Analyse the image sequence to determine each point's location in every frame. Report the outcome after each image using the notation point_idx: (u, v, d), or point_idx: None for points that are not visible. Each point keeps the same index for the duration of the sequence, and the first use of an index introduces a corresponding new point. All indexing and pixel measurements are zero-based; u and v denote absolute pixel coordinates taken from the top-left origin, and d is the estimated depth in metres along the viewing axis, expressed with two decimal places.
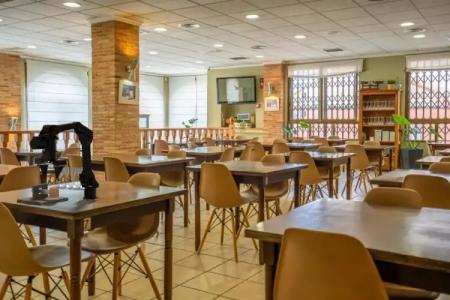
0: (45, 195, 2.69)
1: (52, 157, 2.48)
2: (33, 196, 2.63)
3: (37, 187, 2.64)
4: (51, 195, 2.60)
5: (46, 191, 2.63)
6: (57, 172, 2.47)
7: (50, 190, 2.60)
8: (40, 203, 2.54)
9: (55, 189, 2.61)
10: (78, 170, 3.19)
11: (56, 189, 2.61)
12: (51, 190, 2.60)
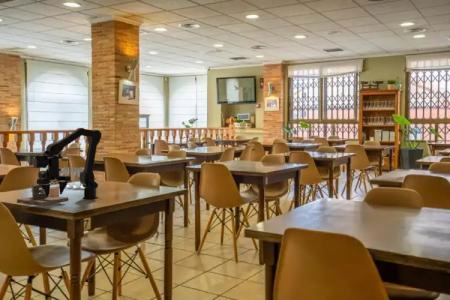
0: (45, 195, 2.69)
1: (48, 175, 2.59)
2: (33, 196, 2.63)
3: (37, 187, 2.64)
4: (51, 195, 2.60)
5: None
6: (45, 190, 2.57)
7: (50, 190, 2.60)
8: (40, 203, 2.54)
9: (55, 189, 2.61)
10: (78, 170, 3.19)
11: (56, 189, 2.61)
12: (51, 190, 2.60)
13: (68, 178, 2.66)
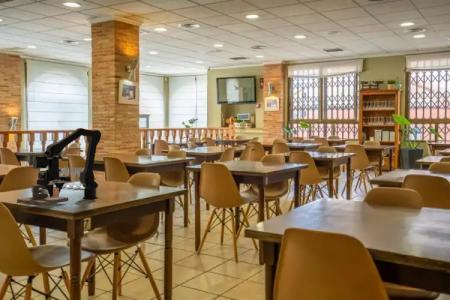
0: (45, 195, 2.69)
1: (48, 176, 2.59)
2: (33, 196, 2.63)
3: (37, 187, 2.64)
4: None
5: (46, 191, 2.63)
6: (48, 190, 2.59)
7: None
8: (40, 203, 2.54)
9: (55, 189, 2.61)
10: (78, 170, 3.19)
11: (56, 189, 2.61)
12: None
13: (68, 179, 2.66)
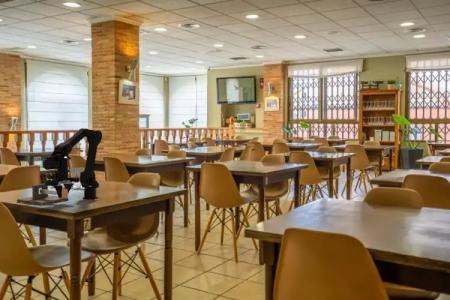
0: (45, 195, 2.69)
1: (57, 176, 2.56)
2: (33, 196, 2.63)
3: (37, 187, 2.64)
4: None
5: (55, 192, 2.60)
6: (57, 191, 2.56)
7: None
8: (40, 203, 2.54)
9: (64, 190, 2.57)
10: (78, 170, 3.19)
11: (65, 190, 2.58)
12: None
13: (77, 179, 2.63)
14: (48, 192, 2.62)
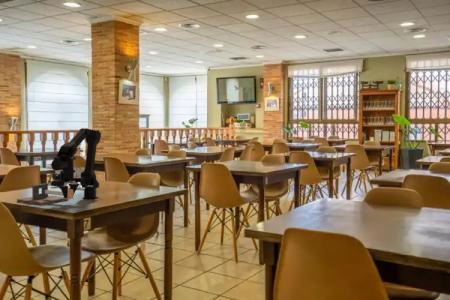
0: (45, 195, 2.69)
1: (63, 177, 2.54)
2: (33, 196, 2.63)
3: (37, 187, 2.64)
4: None
5: (60, 192, 2.58)
6: (62, 191, 2.54)
7: None
8: (40, 203, 2.54)
9: (69, 191, 2.55)
10: (78, 170, 3.19)
11: (70, 191, 2.56)
12: None
13: (82, 180, 2.61)
14: (53, 193, 2.60)
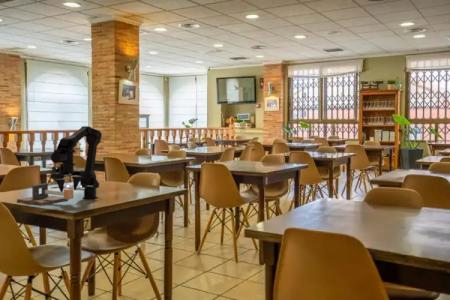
0: (45, 195, 2.69)
1: (62, 170, 2.53)
2: (33, 196, 2.63)
3: (37, 187, 2.64)
4: (65, 197, 2.55)
5: (61, 192, 2.58)
6: (59, 185, 2.51)
7: (64, 192, 2.55)
8: (40, 203, 2.54)
9: (70, 191, 2.55)
10: None
11: (71, 191, 2.56)
12: (65, 191, 2.55)
13: (82, 173, 2.61)
14: (54, 193, 2.60)
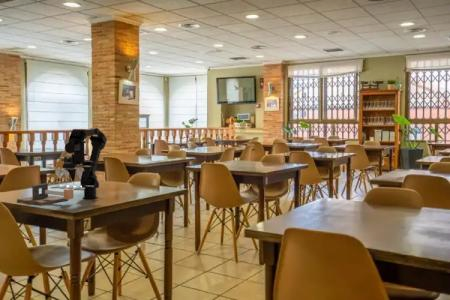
0: (45, 195, 2.69)
1: (74, 160, 2.60)
2: (33, 196, 2.63)
3: (37, 187, 2.64)
4: (65, 197, 2.55)
5: (61, 192, 2.58)
6: (70, 174, 2.58)
7: (64, 192, 2.55)
8: (40, 203, 2.54)
9: (70, 191, 2.55)
10: (78, 170, 3.19)
11: (71, 191, 2.56)
12: (65, 191, 2.55)
13: (93, 163, 2.67)
14: (54, 193, 2.60)
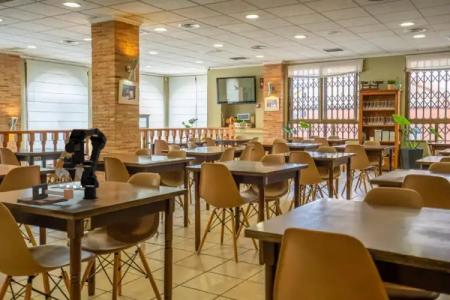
0: (45, 195, 2.69)
1: (74, 160, 2.60)
2: (33, 196, 2.63)
3: (37, 187, 2.64)
4: (65, 197, 2.55)
5: (61, 192, 2.58)
6: (70, 174, 2.58)
7: (64, 192, 2.55)
8: (40, 203, 2.54)
9: (70, 191, 2.55)
10: (78, 170, 3.19)
11: (71, 191, 2.56)
12: (65, 191, 2.55)
13: (93, 163, 2.67)
14: (54, 193, 2.60)
